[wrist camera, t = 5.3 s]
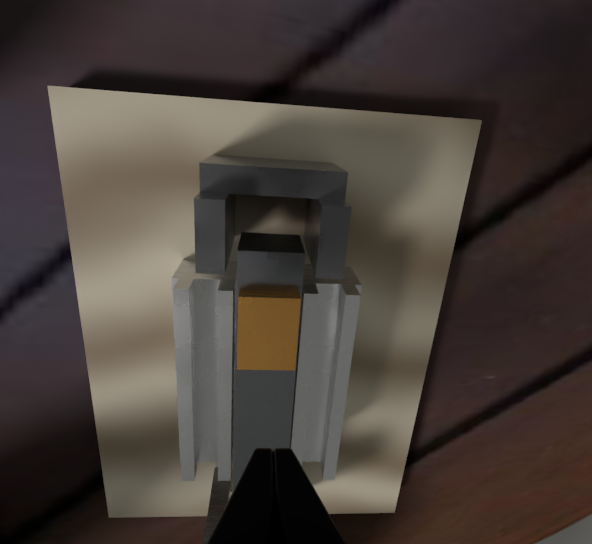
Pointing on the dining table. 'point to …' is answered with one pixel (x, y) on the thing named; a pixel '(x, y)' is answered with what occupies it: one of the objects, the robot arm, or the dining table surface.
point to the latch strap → (266, 341)
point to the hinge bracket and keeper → (221, 229)
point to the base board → (248, 218)
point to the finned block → (221, 366)
